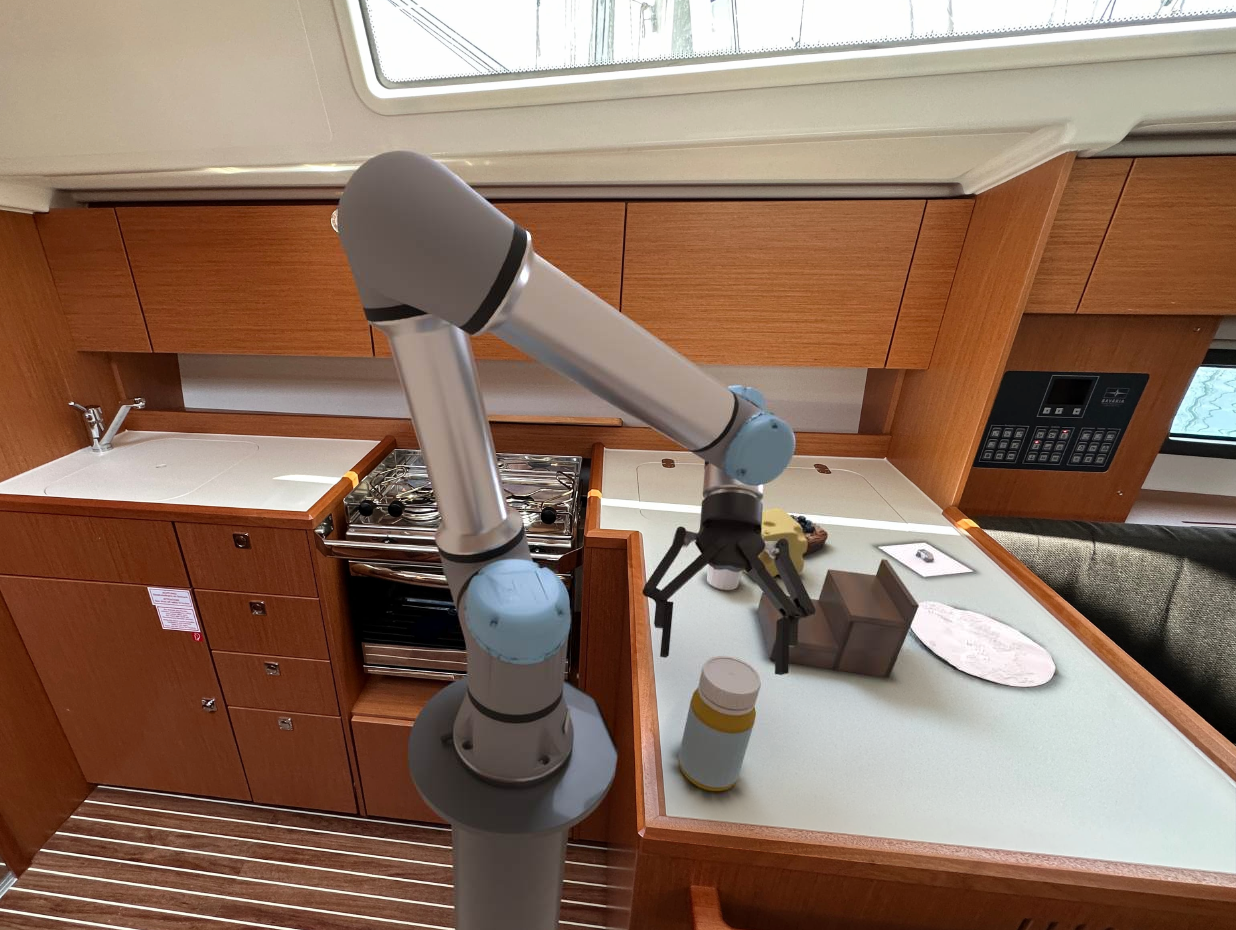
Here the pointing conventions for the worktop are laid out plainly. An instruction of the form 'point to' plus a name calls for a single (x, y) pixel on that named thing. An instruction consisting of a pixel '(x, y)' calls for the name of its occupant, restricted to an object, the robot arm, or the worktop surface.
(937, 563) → the white paper sheet
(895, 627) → the step rack
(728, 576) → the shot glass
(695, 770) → the bottle
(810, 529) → the pastry
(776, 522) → the cheese
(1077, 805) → the worktop surface
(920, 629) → the plaque
